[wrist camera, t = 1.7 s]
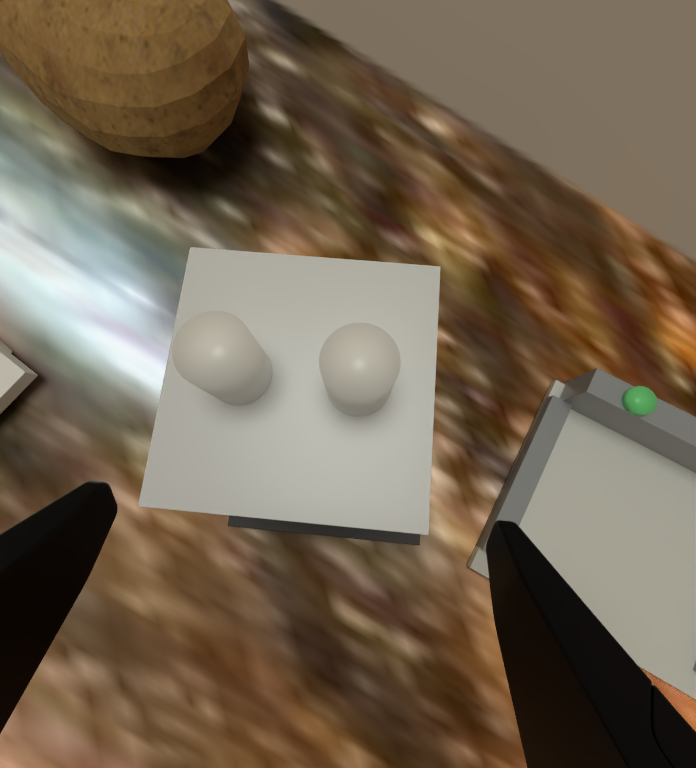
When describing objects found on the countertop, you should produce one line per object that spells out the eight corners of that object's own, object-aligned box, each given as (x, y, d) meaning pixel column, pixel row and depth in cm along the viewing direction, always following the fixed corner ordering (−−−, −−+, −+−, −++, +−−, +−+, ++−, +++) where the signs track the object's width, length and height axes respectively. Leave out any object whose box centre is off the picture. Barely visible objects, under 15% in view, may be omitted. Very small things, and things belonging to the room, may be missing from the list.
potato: (110, 25, 26) (7, -167, 18) (297, 103, 24) (271, -70, 17) (18, 136, 24) (-141, -25, 16) (214, 228, 23) (141, 99, 15)
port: (698, 700, 17) (781, 753, 14) (466, 565, 18) (491, 585, 15) (766, 487, 19) (853, 489, 16) (552, 378, 20) (591, 360, 17)
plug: (399, 520, 19) (526, 644, 5) (252, 505, 19) (-13, 587, 5) (407, 376, 20) (523, 169, 7) (271, 364, 20) (107, 140, 7)
